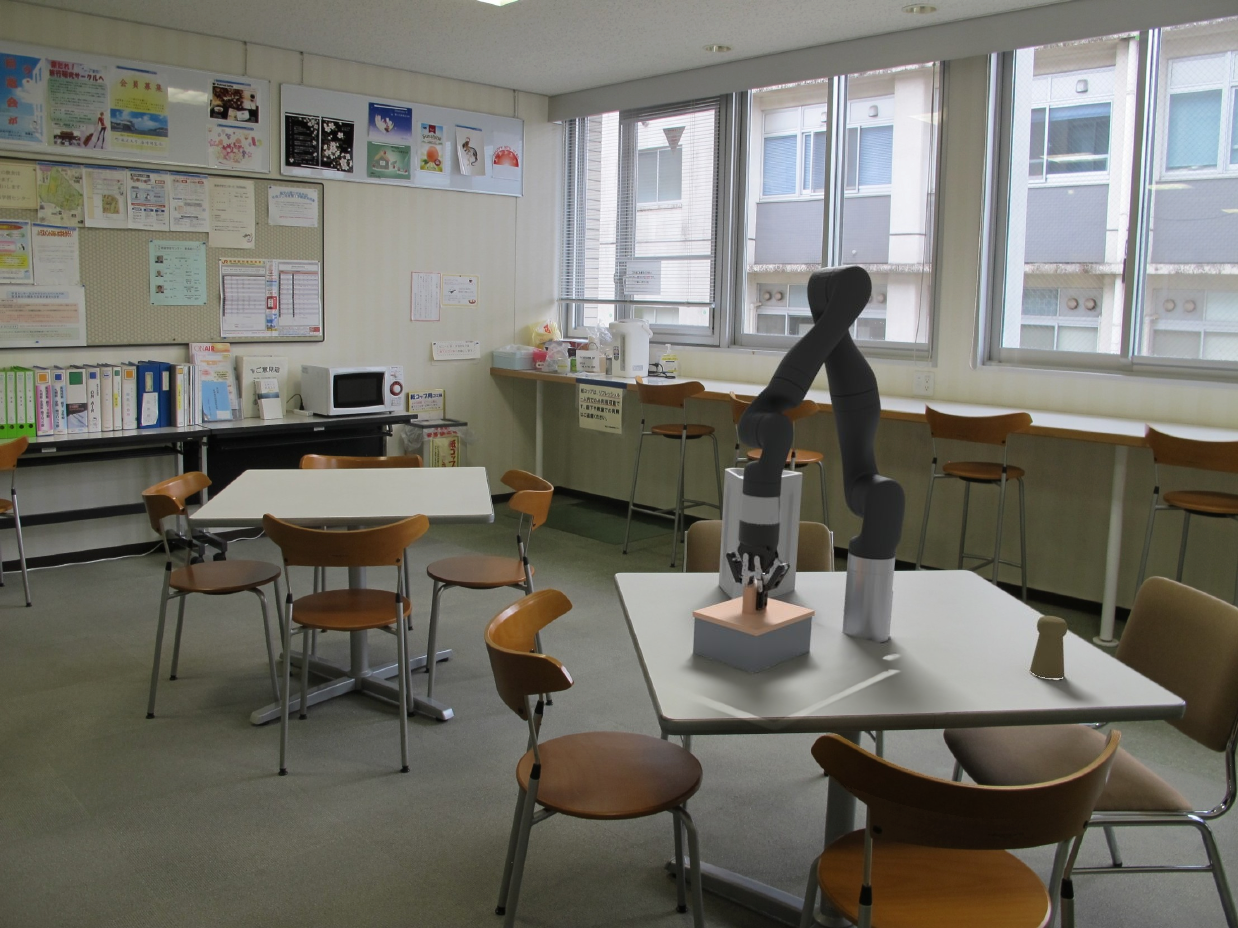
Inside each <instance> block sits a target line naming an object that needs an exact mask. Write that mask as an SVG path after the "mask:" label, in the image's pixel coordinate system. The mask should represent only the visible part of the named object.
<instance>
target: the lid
mask: <svg viewBox="0 0 1238 928" xmlns="http://www.w3.org/2000/svg"><path fill="white" fill-rule="evenodd" d="M757 591H758V590H757V583H753V584H750V585H746V586H744V589H743V596H742V597H739V598H736V599H729V600H726V601H723V602H719V603H716V604H713V605H710V606H706V607H703V608H700V609H696V610H693V611H692V617H693V618H695V617H696V618H699V619H702V620H706V621H709V622H712V623H715V624H719V625H722V626H725V627H729V628H732V629H735V630H738V631H742V632H745V633H748V634H751V635H755V636H758V635H761V634H764V633H767V632H769V631H772V630H775V629H778V628H781V627H784V626H786V625H789V624H792V623H795V622H798V621H801V620H803V619H806V618H809V617H812V618H813V617H814V616H815V612H816V610H815V609H810V608H807V607H803V606H798V605H796V604H792V603H788V602H786V601H785V602H784V601H781V600H778V599H774V598H768V601H767V607H766V608H765V609H764V610H762V611H757V610H756V593H757Z"/></svg>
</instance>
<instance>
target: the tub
mask: <svg viewBox="0 0 1238 928" xmlns="http://www.w3.org/2000/svg"><path fill="white" fill-rule="evenodd" d="M812 622H813V616H812V617H809V618H806V619H803V620H801V621H798V622H795V623H792V624H789V625H786V626H784V627H781V628H778V629H775V630H772V631H769V632H767V633H764V634H761V635H758V636H755V635H751V634H748V633H745V632H742V631H738V630H735V629H732V628H729V627H725V626H722V625H719V624H715V623H712V622H709V621H706V620H702V619H699V618H696V617H694V623H693V624H694V625H693V644H692V645H693V646H692V647H693V648H692V653H693V654H695V655H698V656H702V657H704V658H708V659H711V660H714V661H716V662H719V663H722V664H724V665H728V666H731V667H734V668H736V669H739V670H743V671H746V672H748V673H751V674H755V673H758V672H761V671H763V670H766V669H768V668H771V667H773V666H776V665H778V664H781V663H783V662H786V661H789V660H791V659H794V658H796V657H798V656H801V655H804V654H805V653H808V652H810V651H811V637H812Z"/></svg>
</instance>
